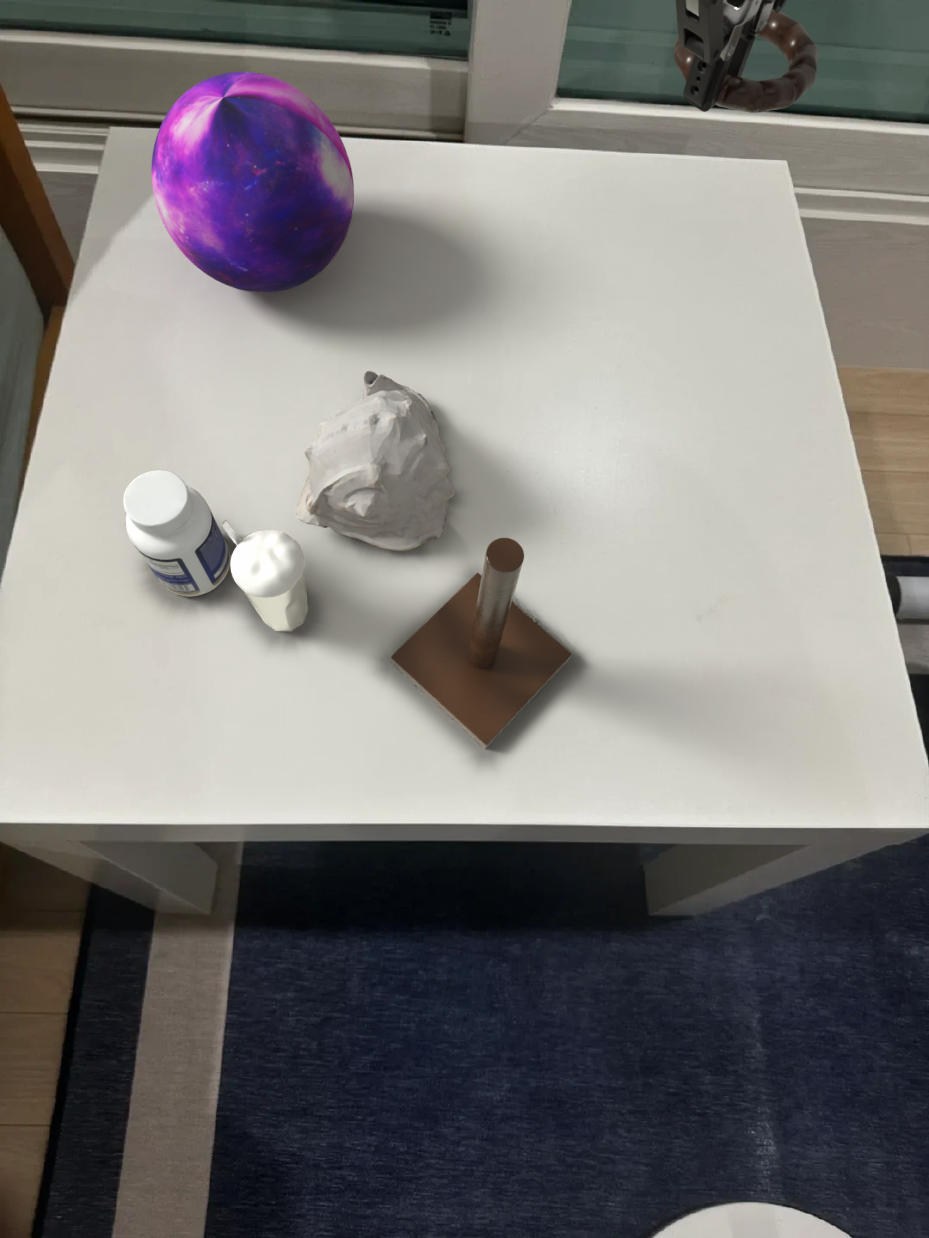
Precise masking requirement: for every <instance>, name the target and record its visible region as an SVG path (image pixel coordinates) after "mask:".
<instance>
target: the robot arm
mask: <svg viewBox="0 0 929 1238" xmlns="http://www.w3.org/2000/svg"><path fill="white" fill-rule="evenodd" d="M787 2H788V0H675V12H676V25H677V38H678V39H679V45H681V46H682V47H684V48H685V49H687V50H688V51H690V52H691V53H693V54H695V55H694V59H693V62H692V65H691V68H690V72H689V75H688V78H687V82H686V81H685V84H684V89H683V93H682V95H683V98H684V100H685V101H686V102H687V103H688V104H690V105H692V106H694V107H695V108H696V109H698V110H699V111H701V112H702V113H703V112H704V113H706V112H708V111H710V110H711V109H712V108H713V107H714V106H715V105H716V101H717V98H718V95H719V93H720V90H721V87H722V84H723V81H724V78H725V75H726V73H728V74H730V75H732V76H736V77H741V78H742V76H743V74H744V73H743V72H744V71H745V68H746V65H747V61H748V59H749V56H750V54H751V50H752V49H753V45H754V42H755V40H756V36H758V35H759V34H760V33H761V32H762V31H763V30H764V29H765V27H766V25H767V22H768V19H769V16H770V13H771V10H772V11H774V12H775V13H778V12H779V11H781V10H782V9H784V7H785V6H786V4H787ZM723 16H724V17H726V18H727V19H728V20H727V21H726V22H725V23H723ZM754 35H756V36H754Z"/></svg>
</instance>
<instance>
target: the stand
mask: <svg viewBox="0 0 929 1238" xmlns="http://www.w3.org/2000/svg"><path fill="white" fill-rule="evenodd" d="M524 560H525V552H524V549H523V546H521V544H520V543H519V542H517V541H516V540H515V539H513V538H511V537H510V538H509V537H499V538H496V539H494V540H492V541H491V542H490V543H489V544H488V546H487V548H486V550H485V555H484V561H483V567H482V572H481V574H480V573H479V572H477V573H476V574H474V575H473V576H472V577H471V578H470V579H469V580H468V581H467V582H466V583H465V584H464V585H463V586H462V587H461V588H460V589H459V590H458V591H457V592H456V593H454V595H452V596H451V597H450V599H448V601H446V602H445V603H444V604H443V605H442V607H440V608H439V609H438V610H437V611H436V612H435V613H434V614H433V615H432V616H431V617H430V618H429V619H428V620H427V621H426V622H425V623H424V624H422V626H421V627H420V628H418V629H417V630H416V632H415V633H413V634H412V635H411V636H410V637H409V638H408V639H407V640H406V641H405V642H404V643H403V644H402V645H401V646H400V647H399V648H398V649H397V650H395V651H394V653H393V654H392V655H391V656H390V657H389V658H390V663H391V664H392V665H393V666H394V667H395V668H396V670H398V671H399V672H400V673H402V675H404V676H405V678H407V679H408V680H409V681H410V682H411V683H413V685H414V686H415V687H416V688H418V689H419V690H420V691H421V692H422V693H423V694H424V695H425V696H426V697H428V699H430V701H431V702H433V703H434V704H435V705H436V706H437V707H438V708H439V709H441V710H442V712H444V713H445V714H446V716H448V717H449V718H450V719H451V720H452V721H454V723H456V724H457V725H458V726H459V727H460V728H461V729H462V730H463V731H464V732H466V733H467V734H468V736H470V737H471V738H472V739H473V740H474V741H475V742H476V743H478V744H479V746H481V747H482V748H483V749H484V750H485V749H487V748H488V747H489V746H490V744H492V742H493V741H494V740H495V739H496V738H498V736H499V735H500V734H501V733H502V732H503V731H504V730H505V729H506V728H507V726H509V724H511V722H512V721H513V720H514V719H515V718H516V717H517V716H518V714H520V713H521V711H523V710H524V709H525V707H527V706H528V704H529V703H530V702H531V700H533V699H534V698H535V697H536V695H537V694H538V693H540V691H541V690H542V689H543V688H544V687H545V686H546V685H547V684H548V683H549V682H550V681H551V679H552V678H553V677H555V675H556V674H557V673H558V672H559V671H560V670H561V669H562V668H563V667H564V666H565V665H566V663H568V661H569V660H570V659H571V657H572V655H573V654H572V652H571V651H569V650H568V649H567V648H566V647H565V646H563V645H562V643H560V642H559V641H558V640H557V639H556V638H554V636H552V635H551V634H550V633H549V632H548V631H546V630H545V629H544V628H543V627H542V626H541V625H539V624H538V623H537V622H536V621H535V620H533V618H531V617H530V615H528V614H527V613H526V612H524V611H523V610H522V609H521V608H520V607H519V606H517V605H516V604H515V603H514V602H513V600H514V595H515V593H516V589H517V585H518V581H519V577H520V574H521V570H522V567H523V563H524Z"/></svg>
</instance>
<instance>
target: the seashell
mask: <svg viewBox="0 0 929 1238" xmlns="http://www.w3.org/2000/svg"><path fill="white" fill-rule="evenodd" d="M304 455H305V457H306V460H307V461H308V465H309V466H308V467H309V470H308V471H309V472H308V476H307V478H306V479H305V483H304V486H303V488H302V490H301V496H300V499H299V501H298V503H297V508H296V512H295V515H296V517H297V519H298V520H300V521H301V522H302V523H304V524H307V525H313V526H317V527H321V528H323V529H326V528H329V529H331V530H334V531H336V532H337V533H338V534H340V535H343V536H345V537H349V538H354V539H355V540H359V541H362V542H364V543H367V544H370V545H371V546H374V547H376V548H379V549H384V550H387V551H390V552H391V551H393V552H405V551H411V550H413V549H415V548H418V547H420V546H422V545H423V544H426V543H429V542H432V541H435V540H438V538H439V537H440V536H441V534H443V532H444V529H445V525H446V520H447V513H448V508H449V500H450V499H452V498H454V496H455V490H454V487H453V485H452V482H451V479H450V477H449V475H451V472H452V468H451V467H450V466H449V465H450V464H449V463H448V461H447V460H446V457H447V456H446V449H445V446H444V445H443V444H442V442H441V439H440V430H439V426H438V423H437V419H436V417H435V414H434V411H433V410H432V409H431V406H430V404H429V403H428V401H427V400H426V399H425V397H424V396H423V395H422V394H421V393H419V392H418V391H415V390H414V389H411V388H410V387H409V386H406V385H403V384H399V383H398V382H396V381H395V380H393V379H392V378H390V377H387V376H386V375H384V374H377V373H376V372H375V371H371V370H367V371H365V373H364V374H363V397H362V398H361V399H359V400H358V399H357V400H356V401H355V402H352V403H350V404H347V405H345V406H343V407H341V409H340V410H339V411H338V412H337V413H335V415H333V416H332V417H330V418H328V419H325V420H323V421H322V422H321V423H320V424H319V432H318V437H317V438H316V439H315V441H314V443H313V444H311V445H310V446H308V447H307V448H306V449H305V450H304Z"/></svg>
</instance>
